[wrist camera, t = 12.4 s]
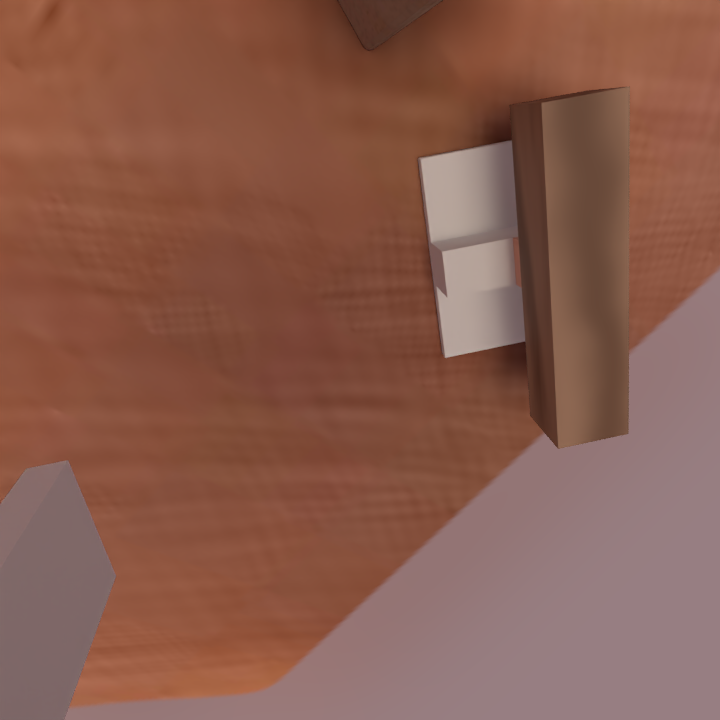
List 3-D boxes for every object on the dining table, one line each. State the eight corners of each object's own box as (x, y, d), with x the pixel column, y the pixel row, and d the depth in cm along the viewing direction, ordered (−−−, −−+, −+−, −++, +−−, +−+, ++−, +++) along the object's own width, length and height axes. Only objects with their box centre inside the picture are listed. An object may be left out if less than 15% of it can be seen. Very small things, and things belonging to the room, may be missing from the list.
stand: (442, 353, 51) (467, 389, 44) (417, 157, 45) (442, 164, 38) (600, 320, 52) (649, 351, 45) (597, 124, 46) (653, 124, 39)
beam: (530, 415, 46) (558, 448, 41) (509, 105, 38) (541, 102, 33) (593, 402, 46) (628, 433, 42) (587, 90, 38) (629, 86, 33)
